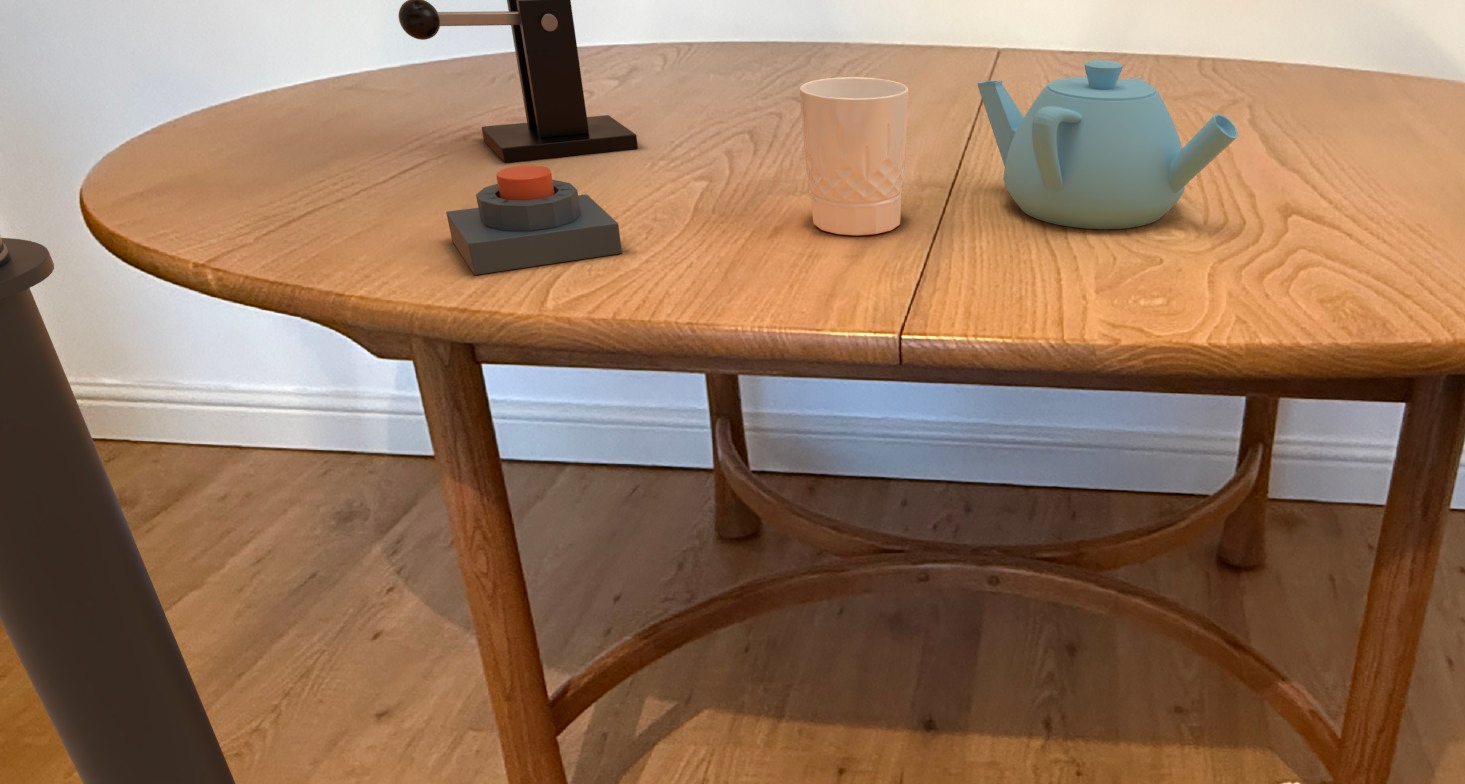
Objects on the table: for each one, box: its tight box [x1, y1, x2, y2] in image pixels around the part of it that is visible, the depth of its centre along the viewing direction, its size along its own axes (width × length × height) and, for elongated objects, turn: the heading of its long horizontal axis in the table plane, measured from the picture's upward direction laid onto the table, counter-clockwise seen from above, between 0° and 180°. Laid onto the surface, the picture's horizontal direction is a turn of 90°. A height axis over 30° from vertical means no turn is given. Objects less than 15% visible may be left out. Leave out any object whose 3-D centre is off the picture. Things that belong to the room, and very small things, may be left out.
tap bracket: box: [481, 0, 639, 164], centre depth 103 cm, size 12×9×13 cm
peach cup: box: [799, 76, 909, 236], centre depth 85 cm, size 8×8×10 cm
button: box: [495, 165, 555, 200], centre depth 79 cm, size 4×4×2 cm
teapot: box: [977, 59, 1239, 230], centre depth 90 cm, size 15×17×11 cm
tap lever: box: [398, 0, 520, 41], centre depth 98 cm, size 13×3×3 cm, turn 121°
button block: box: [446, 179, 623, 276], centre depth 80 cm, size 10×8×4 cm
